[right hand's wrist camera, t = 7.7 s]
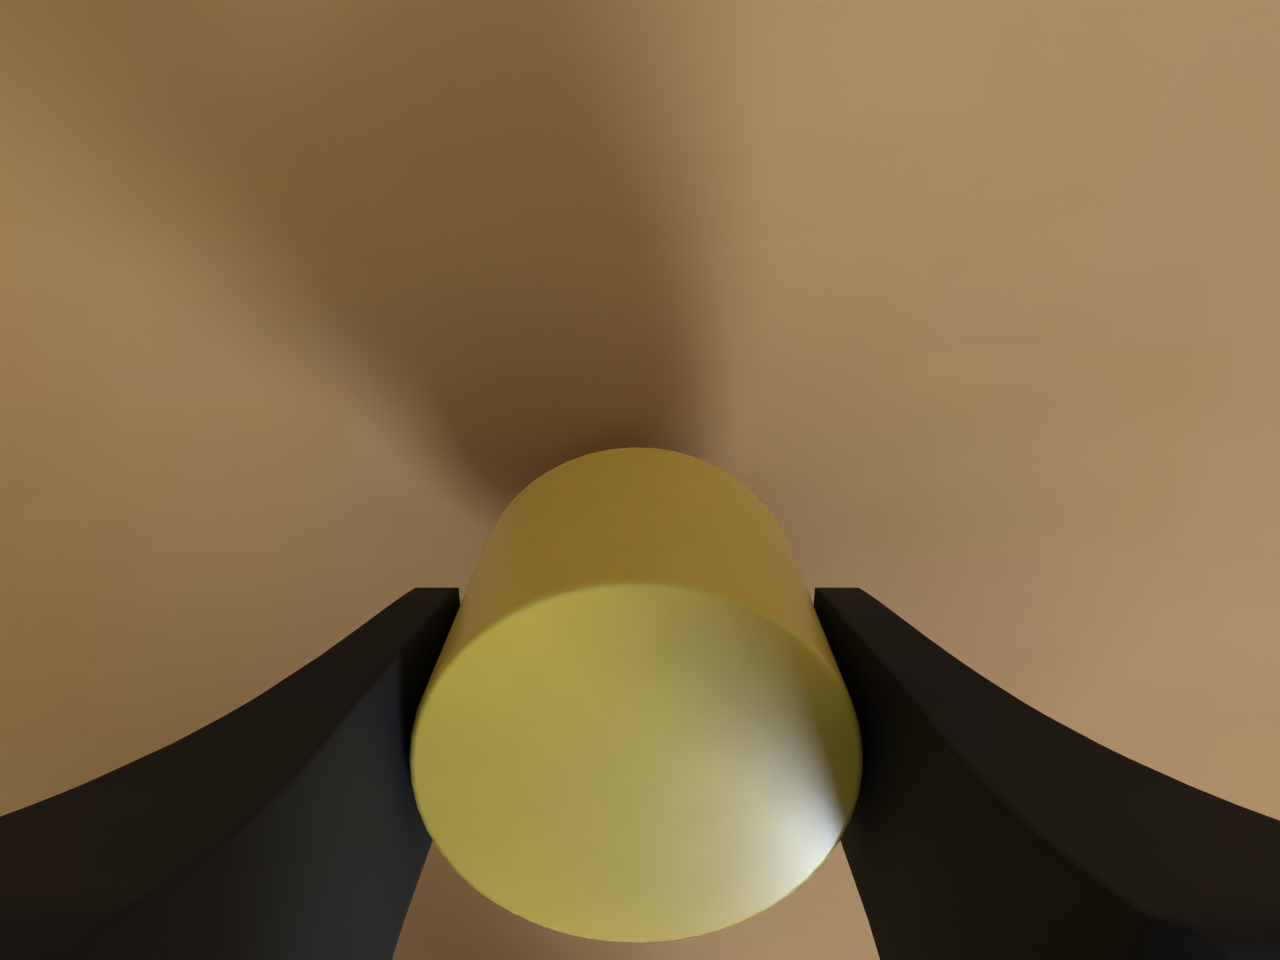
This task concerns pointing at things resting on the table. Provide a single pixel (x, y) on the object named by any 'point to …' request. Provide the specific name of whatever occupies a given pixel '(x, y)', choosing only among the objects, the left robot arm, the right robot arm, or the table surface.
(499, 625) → the yellow cylinder
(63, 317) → the table surface
